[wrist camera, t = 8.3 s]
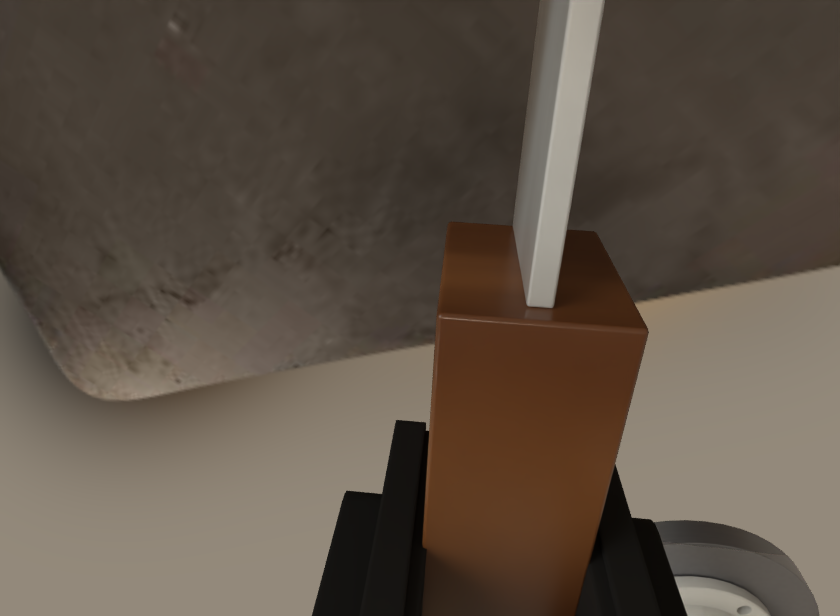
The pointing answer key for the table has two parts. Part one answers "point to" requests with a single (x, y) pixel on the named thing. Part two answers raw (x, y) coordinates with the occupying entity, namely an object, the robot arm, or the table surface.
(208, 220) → the table surface
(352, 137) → the table surface
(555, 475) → the knife
